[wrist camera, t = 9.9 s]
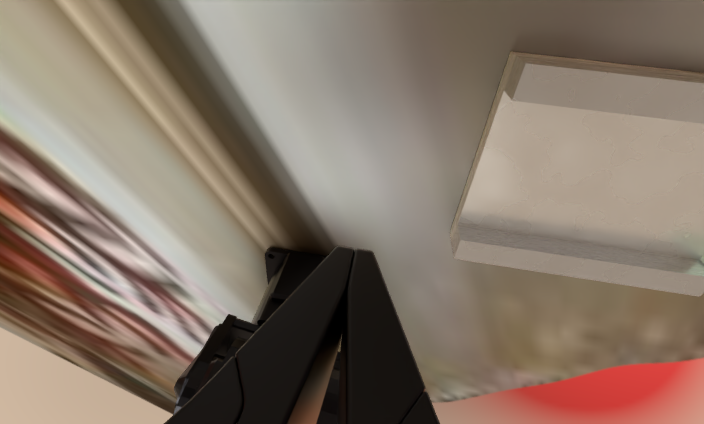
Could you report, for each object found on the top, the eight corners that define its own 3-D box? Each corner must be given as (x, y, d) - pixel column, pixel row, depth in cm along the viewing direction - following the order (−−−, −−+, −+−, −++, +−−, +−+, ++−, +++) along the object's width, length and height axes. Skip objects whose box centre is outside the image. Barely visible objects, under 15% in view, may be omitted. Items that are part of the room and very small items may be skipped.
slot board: (671, 265, 21) (699, 296, 19) (449, 232, 22) (453, 258, 20) (838, 87, 14) (908, 106, 12) (510, 51, 15) (525, 63, 13)
